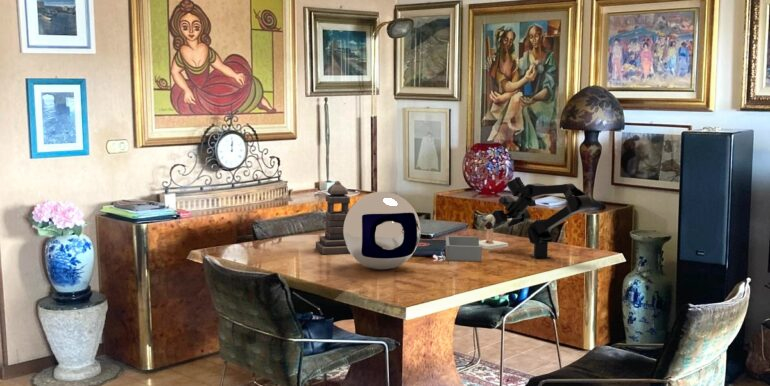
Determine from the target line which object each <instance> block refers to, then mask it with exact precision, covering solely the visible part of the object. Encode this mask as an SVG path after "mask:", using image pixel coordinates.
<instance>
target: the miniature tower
mask: <svg viewBox="0 0 770 386" xmlns="http://www.w3.org/2000/svg"><path fill="white" fill-rule="evenodd" d="M326 192H327V194H325V202H327V204H326V205H327V206H326V207H327V211H325V231H324V235H319V240H317V241H315V249H316V250H317V251H318V252H319V253H320V254H321V255H323V256H325V255H326V256H327V255H351V253H350V252H349V250H348V249H347V246H346V244H345V241H344V235H343V226H344V221H345V218H346V215H347V213H348V211H349V210H350V208H349V207H350V206H349V204H350V203H351V197H350V196H349V195H348V194H349V191H348V189H347V188H346V187H345V186H344V185H342V183H341V182H340V180H336V181H335V182H334V183H333V184H331V186H329V187H328V188H327V191H326ZM334 204H335V205H338V204H341V207H340V208H341V209H340V210H335V211H334V208H335V207H334V206H335V205H334Z"/></svg>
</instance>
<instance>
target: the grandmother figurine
mask: <svg viewBox="0 0 770 386" xmlns="http://www.w3.org/2000/svg"><path fill="white" fill-rule="evenodd" d="M493 219H494V216H493V215H492V214H488V215H486V217H485V220H486V221H487V222H486V223H485V224H484V231H486V237H485V240H486V242H485V243H488V244H494V242H493V240H494V236H493V235H494V234H493V233H494V228H493V226H494V223H492V222H493Z"/></svg>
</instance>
